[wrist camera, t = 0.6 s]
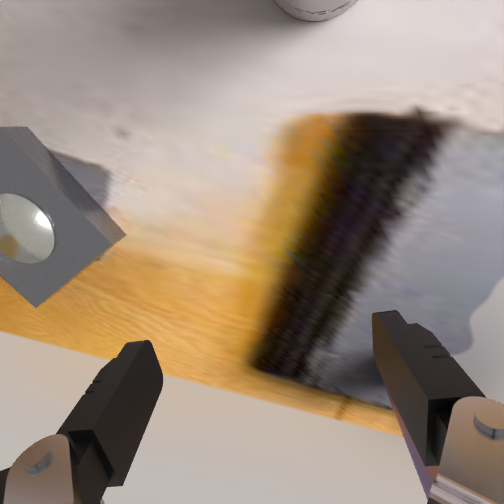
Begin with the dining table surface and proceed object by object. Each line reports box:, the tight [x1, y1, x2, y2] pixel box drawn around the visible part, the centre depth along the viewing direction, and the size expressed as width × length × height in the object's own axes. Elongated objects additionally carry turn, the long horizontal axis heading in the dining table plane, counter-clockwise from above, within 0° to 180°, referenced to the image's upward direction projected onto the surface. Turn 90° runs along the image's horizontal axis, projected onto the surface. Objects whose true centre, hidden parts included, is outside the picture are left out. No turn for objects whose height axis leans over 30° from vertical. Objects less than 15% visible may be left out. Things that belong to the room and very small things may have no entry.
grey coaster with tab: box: [0, 127, 126, 308], centre depth 32 cm, size 17×14×3 cm
